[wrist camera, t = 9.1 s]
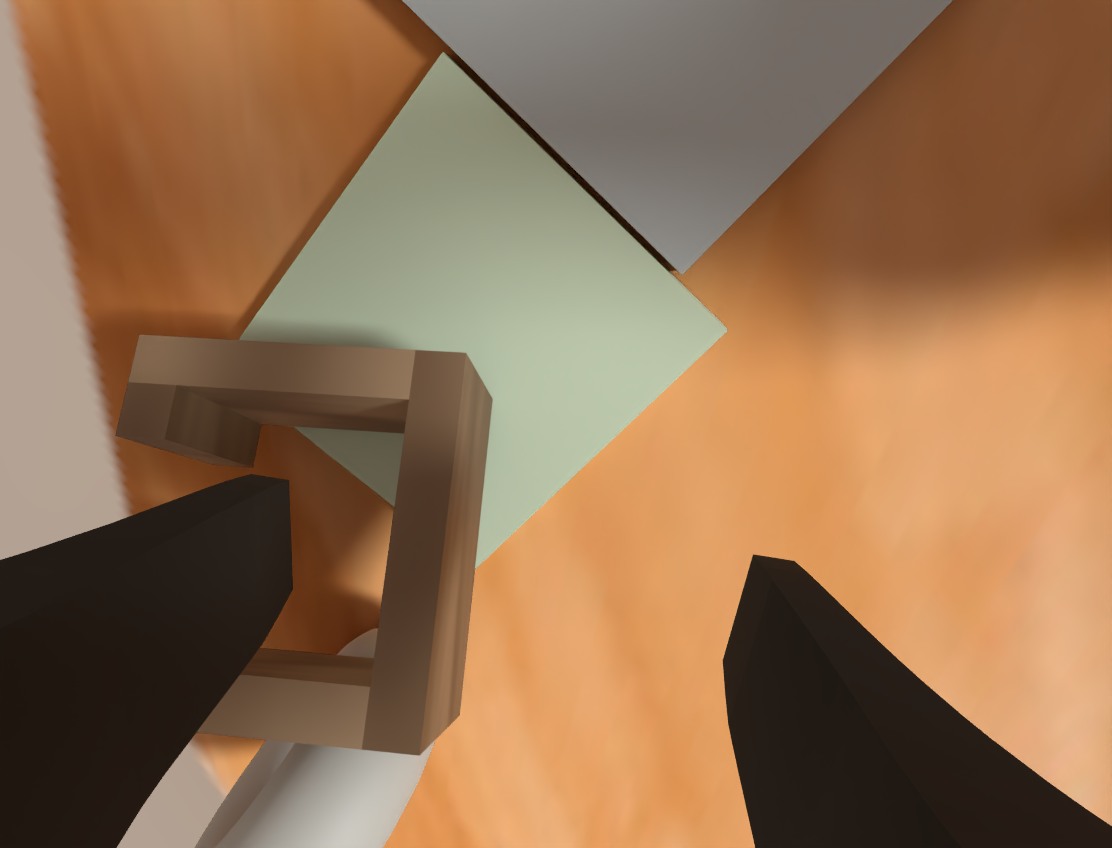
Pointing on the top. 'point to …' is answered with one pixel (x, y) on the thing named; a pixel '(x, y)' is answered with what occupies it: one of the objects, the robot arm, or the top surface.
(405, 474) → the c link
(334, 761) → the donut
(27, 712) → the robot arm
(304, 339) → the pad
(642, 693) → the top surface
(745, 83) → the stand
